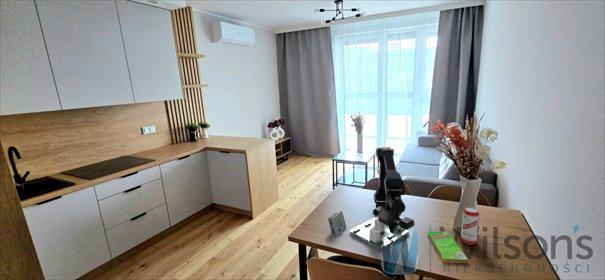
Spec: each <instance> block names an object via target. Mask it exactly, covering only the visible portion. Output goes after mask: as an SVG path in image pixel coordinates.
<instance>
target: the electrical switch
mask: <svg viewBox="0 0 605 280" xmlns="http://www.w3.org/2000/svg"><path fill="white" fill-rule="evenodd" d="M327 220H328V225H329V228H330V231H331V234H335V236H339V235H341V234H342V232H344V231H345V230H346V229H347V224H346V221H345V216H344V213H343V211H341V210H339V212H335V213H334V214H332V215H331V216H330V217H328V218H327Z"/></svg>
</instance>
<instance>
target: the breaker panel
mask: <svg viewBox="0 0 605 280" xmlns="http://www.w3.org/2000/svg"><path fill="white" fill-rule="evenodd" d="M376 218H377V216H374V217H373V218H372V219H369V220H367V221H366V222H363V223H362V224H360V225H357V226H356V227H354V228H352V229H350V230H349V234H350V236H353V237H354V238H355V239H357V240H359V241H361V242H363V243H365V244H366V245H368V246H370V247H371V248H373V249H375V250H376V251H378V252H380V253H383V252H384V251H386V250H388V249H389V248H391V247H392V246H394V245H396V244H397V243H398V242H400V241H401V239H402V240H403V239H405V238H406V237H408V236H410V231H409V229H408V230H405V229H403V228H400V229H399V230H398V229H396V230H395V232H394V234H391V233H390V230H389V227H388V225H385V224H384V231H383V232H380V241H379V242H377V243H375V242H373V241H371V240H370V239H369V229H370V228H371V227H374V219H376ZM404 237H405V238H404ZM393 244H394V245H393ZM391 245H392V246H391ZM390 246H391V247H390ZM388 247H389V248H388ZM387 248H388V249H387ZM385 249H386V250H385Z"/></svg>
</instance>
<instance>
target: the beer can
mask: <svg viewBox="0 0 605 280" xmlns="http://www.w3.org/2000/svg"><path fill="white" fill-rule="evenodd" d="M461 220H462V221H461V230H460V231H461V232H460V233H461V234H460V240H461V241H462V242H463V243H465V244H466V245H475V244H477V242H478V232H479V231H478V230H479V224H480V222H479V221H480V213H479V210H478V208H475V207H472V206H466V207H464V209H463V212H462V219H461Z"/></svg>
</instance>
